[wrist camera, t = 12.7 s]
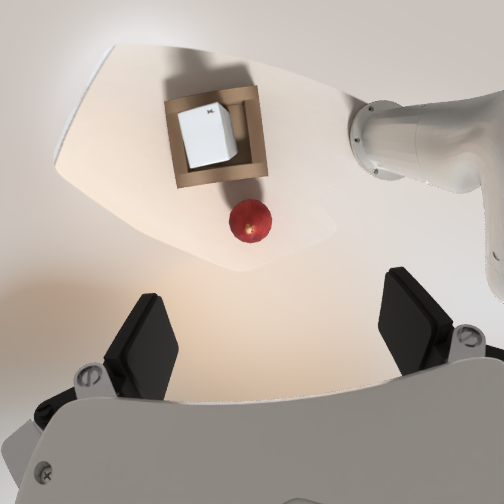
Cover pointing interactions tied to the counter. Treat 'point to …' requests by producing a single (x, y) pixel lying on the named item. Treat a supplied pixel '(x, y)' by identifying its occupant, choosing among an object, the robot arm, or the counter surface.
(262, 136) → the wooden tray
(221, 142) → the skincare box
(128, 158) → the counter surface
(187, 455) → the robot arm
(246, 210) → the onion
